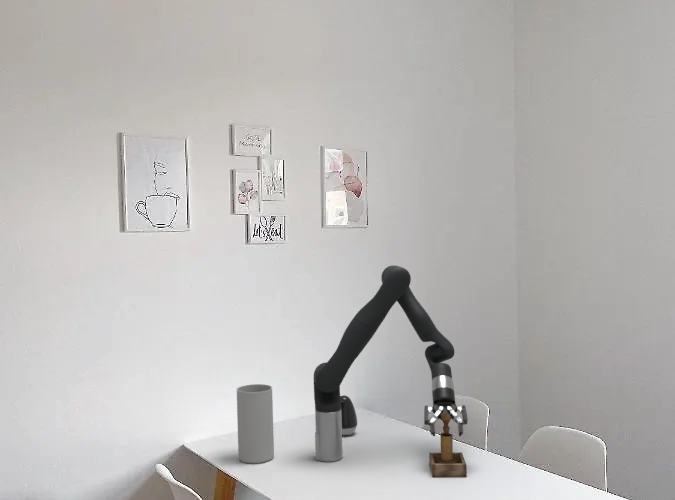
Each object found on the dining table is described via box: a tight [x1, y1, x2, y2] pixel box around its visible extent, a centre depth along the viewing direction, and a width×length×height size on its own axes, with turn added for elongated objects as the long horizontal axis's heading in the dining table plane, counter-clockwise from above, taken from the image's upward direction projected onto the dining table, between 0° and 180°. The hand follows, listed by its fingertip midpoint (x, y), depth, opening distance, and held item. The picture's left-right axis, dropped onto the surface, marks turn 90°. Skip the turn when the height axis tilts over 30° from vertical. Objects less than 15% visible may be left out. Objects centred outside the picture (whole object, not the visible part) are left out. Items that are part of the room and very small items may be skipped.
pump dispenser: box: [340, 394, 358, 437], centre depth 270 cm, size 10×10×15 cm
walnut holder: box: [428, 451, 468, 478], centre depth 227 cm, size 11×12×4 cm
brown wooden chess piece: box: [437, 413, 457, 464], centre depth 227 cm, size 7×6×18 cm
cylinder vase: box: [236, 383, 275, 465], centre depth 243 cm, size 12×12×25 cm
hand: (447, 435), depth 225 cm, fingers open, 8 cm apart
